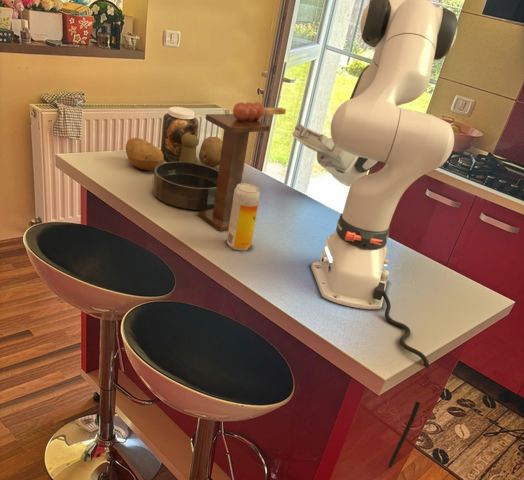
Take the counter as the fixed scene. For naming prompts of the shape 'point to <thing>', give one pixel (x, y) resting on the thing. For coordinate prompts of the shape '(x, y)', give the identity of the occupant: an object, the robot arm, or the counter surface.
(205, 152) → the round brown potato
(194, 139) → the cork
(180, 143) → the jar
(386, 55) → the robot arm
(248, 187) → the beer can
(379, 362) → the counter surface
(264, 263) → the counter surface
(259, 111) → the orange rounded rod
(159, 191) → the round cake pan
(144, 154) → the potato
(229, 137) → the walnut stand
